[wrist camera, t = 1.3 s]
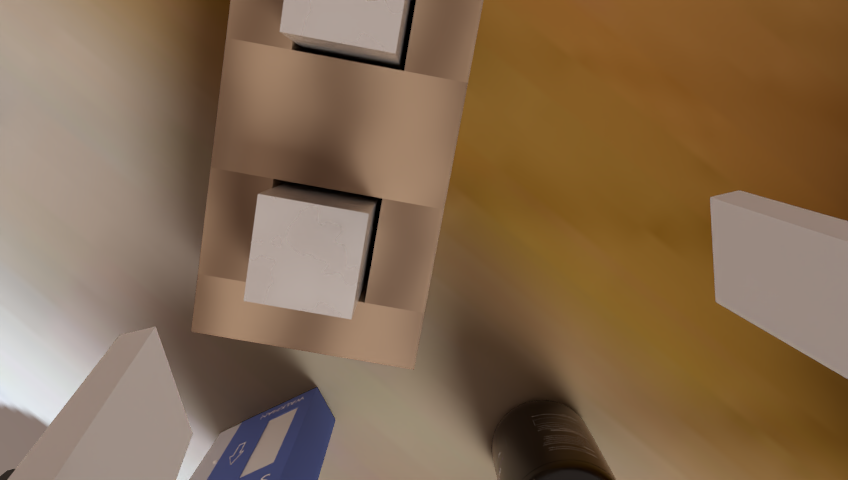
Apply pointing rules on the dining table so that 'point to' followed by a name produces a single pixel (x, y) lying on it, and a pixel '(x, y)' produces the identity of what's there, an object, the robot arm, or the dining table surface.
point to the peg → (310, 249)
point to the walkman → (273, 443)
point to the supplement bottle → (546, 445)
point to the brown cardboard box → (335, 171)
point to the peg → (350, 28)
